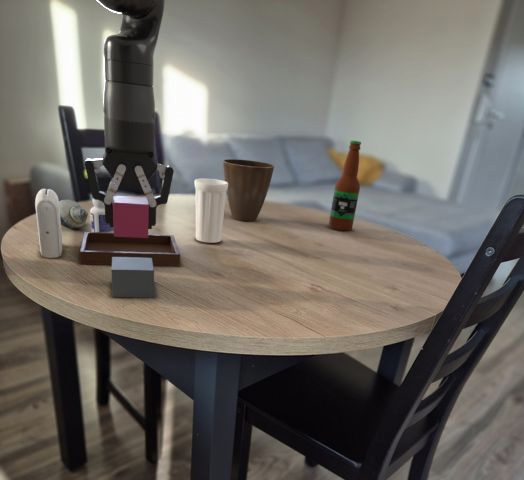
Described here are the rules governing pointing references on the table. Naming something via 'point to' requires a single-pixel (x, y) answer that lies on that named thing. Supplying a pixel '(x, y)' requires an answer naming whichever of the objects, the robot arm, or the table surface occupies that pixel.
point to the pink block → (130, 216)
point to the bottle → (346, 192)
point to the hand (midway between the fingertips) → (130, 226)
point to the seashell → (72, 214)
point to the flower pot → (246, 187)
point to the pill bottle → (99, 218)
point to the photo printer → (48, 223)
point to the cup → (210, 209)
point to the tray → (128, 248)
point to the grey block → (132, 277)
